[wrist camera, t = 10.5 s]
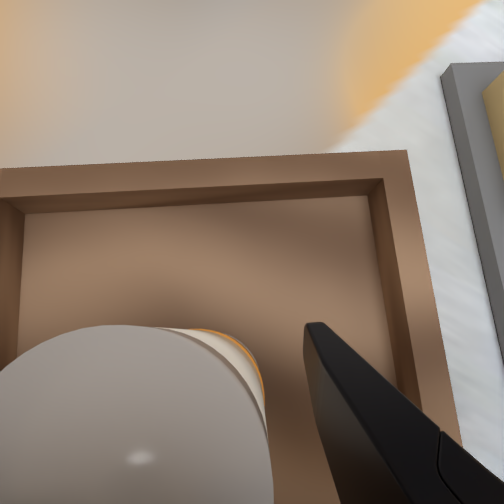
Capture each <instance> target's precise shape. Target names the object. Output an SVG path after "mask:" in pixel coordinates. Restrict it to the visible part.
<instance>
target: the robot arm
mask: <svg viewBox="0 0 504 504" xmlns="http://www.w3.org/2000/svg"><path fill="white" fill-rule="evenodd" d="M303 359H304V365H305V370H306V376H307V381H308V386H309V392H310V397H311V402H312V408H313V413H314V417H315V422H316V425H317V429H318V433H319V436H320V439H321V442H322V445H323V449H324V452H325V455H326V458H327V461H328V465H329V468H330V471H331V474H332V477H333V481H334V484H335V487H336V490H337V493H338V497H339V500H340V503H341V504H504V482H503V481H501V480H500V479H499V478H498V477H496V476H495V475H494V474H493V473H491V472H490V471H489V470H488V469H486V468H485V467H484V466H483V465H482V464H481V463H480V462H478V461H477V460H476V459H475V458H474V457H473V456H471V455H470V454H469V453H468V452H467V451H466V450H465V449H463V448H462V447H461V446H460V445H459V444H458V443H457V442H456V441H454V440H453V439H452V438H451V437H450V436H449V435H448V434H447V433H446V432H444V431H441V432H440V427H439V426H438V425H437V424H435V423H434V422H433V421H432V420H431V419H430V418H429V417H428V416H427V415H425V414H424V413H423V412H422V411H421V410H420V409H419V408H418V407H417V406H416V405H414V404H413V403H412V402H411V401H410V400H409V399H408V398H407V397H406V396H405V395H403V394H402V393H401V392H400V391H399V390H398V389H397V388H396V387H395V386H393V385H392V384H391V383H390V382H389V381H388V380H387V379H386V378H385V377H384V376H382V375H381V374H380V373H379V372H378V371H377V370H376V369H375V368H374V367H372V366H371V365H370V364H369V363H368V362H367V361H366V360H365V359H364V358H363V357H361V356H360V355H359V354H358V353H357V352H356V351H355V350H354V349H353V348H352V347H350V346H349V345H348V344H347V343H346V342H345V341H344V340H343V339H342V338H340V337H339V336H338V335H337V334H336V333H335V332H334V331H333V330H332V329H331V328H329V327H328V326H327V325H326V324H325V323H323V322H309V323H306V324H305V326H304V336H303Z"/></svg>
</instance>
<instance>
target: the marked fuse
mask: <svg viewBox="0 0 504 504" xmlns="http://www.w3.org/2000/svg"><path fill="white" fill-rule="evenodd" d="M264 406H265V394H264V387H263V380H262V377H261V373H260V370H259V366H258V364H257V361H256V359H255V357H254V356H253V354H252V352H251V351H250V350H249V349H248V347H247V346H246V345H245V344H244V343H242V342H241V341H240V340H238V339H237V338H235V337H233V336H231V335H229V334H226V333H222V332H218V331H214V330H208V329H174V328H159V327H145V326H130V325H102V326H95V327H88V328H82V329H78V330H75V331H71V332H68V333H64V334H61V335H59V336H56V337H54V338H52V339H49V340H47V341H45V342H42V343H41V344H39V345H37V346H35V347H34V348H32V349H30V350H28V351H27V352H25V353H23V354H22V355H21V356H19V357H18V358H17V359H15V360H14V361H13V362H11V363H10V364H9V365H7V366H6V367H5V368H4V369H3V370H2V371H1V372H0V504H274V493H273V477H272V469H271V460H270V452H269V443H268V434H267V426H266V417H265V409H264Z"/></svg>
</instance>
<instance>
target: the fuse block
mask: <svg viewBox="0 0 504 504" xmlns="http://www.w3.org/2000/svg"><path fill="white" fill-rule="evenodd" d="M441 81H442V86H443V90H444V95H445V99H446V104H447V108H448V113H449V117H450V122H451V126H452V131H453V135H454V140H455V144H456V149H457V153H458V158H459V163H460V167H461V172H462V176H463V181H464V185H465V190H466V194H467V199H468V203H469V208H470V212H471V217H472V221H473V226H474V230H475V235H476V239H477V244H478V248H479V253H480V257H481V262H482V266H483V271H484V275H485V280H486V284H487V289H488V293H489V298H490V302H491V307H492V311H493V316H494V320H495V325H496V329H497V334H498V338H499V343H500V347H501V352H502V356H503V361H504V62H478V63H451V64H450V65H449V67H448V68H447V69H446V71H445V72H444V73H443V74H442V76H441Z"/></svg>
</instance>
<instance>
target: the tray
mask: <svg viewBox="0 0 504 504" xmlns="http://www.w3.org/2000/svg"><path fill="white" fill-rule="evenodd" d="M309 322H323V323H325V324H326V325H327V326H328V327H329V328H331V329H332V330H333V331H334V332H335V333H336V334H337V335H338V336H339V337H340V338H342V339H343V340H344V341H345V342H346V343H347V344H348V345H349V346H350V347H352V348H353V349H354V350H355V351H356V352H357V353H358V354H359V355H360V356H361V357H363V358H364V359H365V360H366V361H367V362H368V363H369V364H370V365H371V366H372V367H374V368H375V369H376V370H377V371H378V372H379V373H380V374H381V375H382V376H384V377H385V378H386V379H387V380H388V381H389V382H390V383H391V384H392V385H393V386H395V387H396V388H397V389H398V390H399V391H400V392H401V393H402V394H403V395H405V396H406V397H407V398H408V399H409V400H410V401H411V402H412V403H413V404H414V405H416V406H417V407H418V408H419V409H420V410H421V411H422V412H423V413H424V414H425V415H427V416H428V417H429V418H430V419H431V420H432V421H433V422H434V423H435V424H437V425H438V426H439V427H440V432H441V431H444V432H446V433H447V434H448V435H449V436H450V437H451V438H452V439H453V440H454V441H456V442H457V443H458V444H459V445H460V446H461V447H462V448H463V446H462V440H461V435H460V430H459V424H458V419H457V414H456V409H455V403H454V398H453V393H452V387H451V382H450V377H449V372H448V366H447V361H446V356H445V350H444V345H443V340H442V334H441V329H440V324H439V319H438V313H437V308H436V303H435V297H434V292H433V287H432V281H431V276H430V271H429V266H428V260H427V255H426V250H425V244H424V239H423V234H422V228H421V223H420V218H419V213H418V207H417V202H416V197H415V191H414V186H413V181H412V176H411V170H410V165H409V160H408V154H407V150H391V151H369V152H348V153H326V154H304V155H283V156H261V157H240V158H220V159H219V158H218V159H197V160H176V161H155V162H132V163H111V164H89V165H68V166H46V167H24V168H2V169H0V372H1V371H2V370H3V369H4V368H5V367H6V366H7V365H9V364H10V363H11V362H13V361H14V360H15V359H17V358H18V357H19V356H21V355H22V354H23V353H25V352H27V351H28V350H30V349H32V348H34V347H35V346H37V345H39V344H41V343H42V342H45V341H47V340H49V339H52V338H54V337H56V336H59V335H61V334H64V333H68V332H71V331H75V330H78V329H82V328H88V327H95V326H102V325H130V326H145V327H159V328H174V329H208V330H214V331H218V332H222V333H226V334H229V335H231V336H233V337H235V338H237V339H238V340H240V341H241V342H242V343H244V344H245V345H246V346H247V347H248V349H249V350H250V351H251V352H252V354H253V356H254V357H255V359H256V361H257V364H258V366H259V370H260V373H261V377H262V380H263V387H264V394H265V406H264V409H265V417H266V426H267V434H268V443H269V452H270V460H271V469H272V477H273V493H274V504H341V503H340V500H339V497H338V493H337V490H336V487H335V484H334V481H333V477H332V474H331V471H330V468H329V465H328V461H327V458H326V455H325V452H324V449H323V445H322V442H321V439H320V436H319V433H318V429H317V425H316V422H315V417H314V413H313V408H312V402H311V397H310V392H309V386H308V381H307V376H306V370H305V365H304V359H303V336H304V326H305V324H306V323H309Z"/></svg>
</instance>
